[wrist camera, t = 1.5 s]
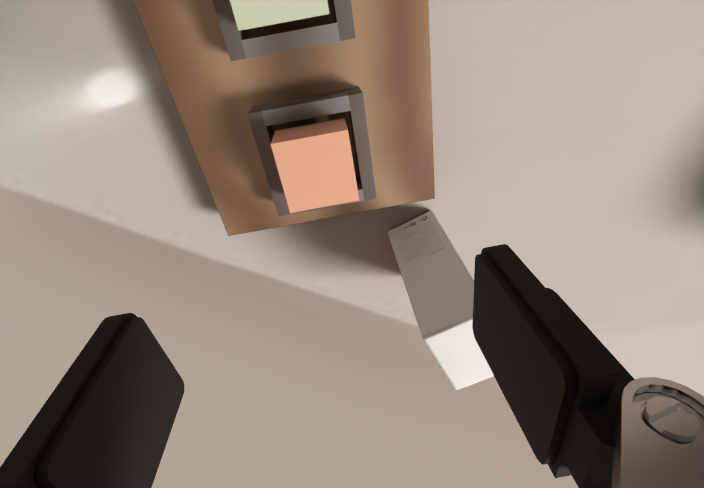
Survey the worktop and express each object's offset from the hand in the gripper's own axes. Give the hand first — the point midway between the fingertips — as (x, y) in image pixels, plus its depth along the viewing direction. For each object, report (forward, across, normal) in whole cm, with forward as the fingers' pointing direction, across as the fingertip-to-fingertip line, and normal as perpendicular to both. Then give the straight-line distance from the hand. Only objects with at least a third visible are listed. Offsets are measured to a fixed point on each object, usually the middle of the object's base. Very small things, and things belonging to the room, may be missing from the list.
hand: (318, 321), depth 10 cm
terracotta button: (+14, 0, 0) cm, 14 cm away
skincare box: (+19, -7, +11) cm, 23 cm away
